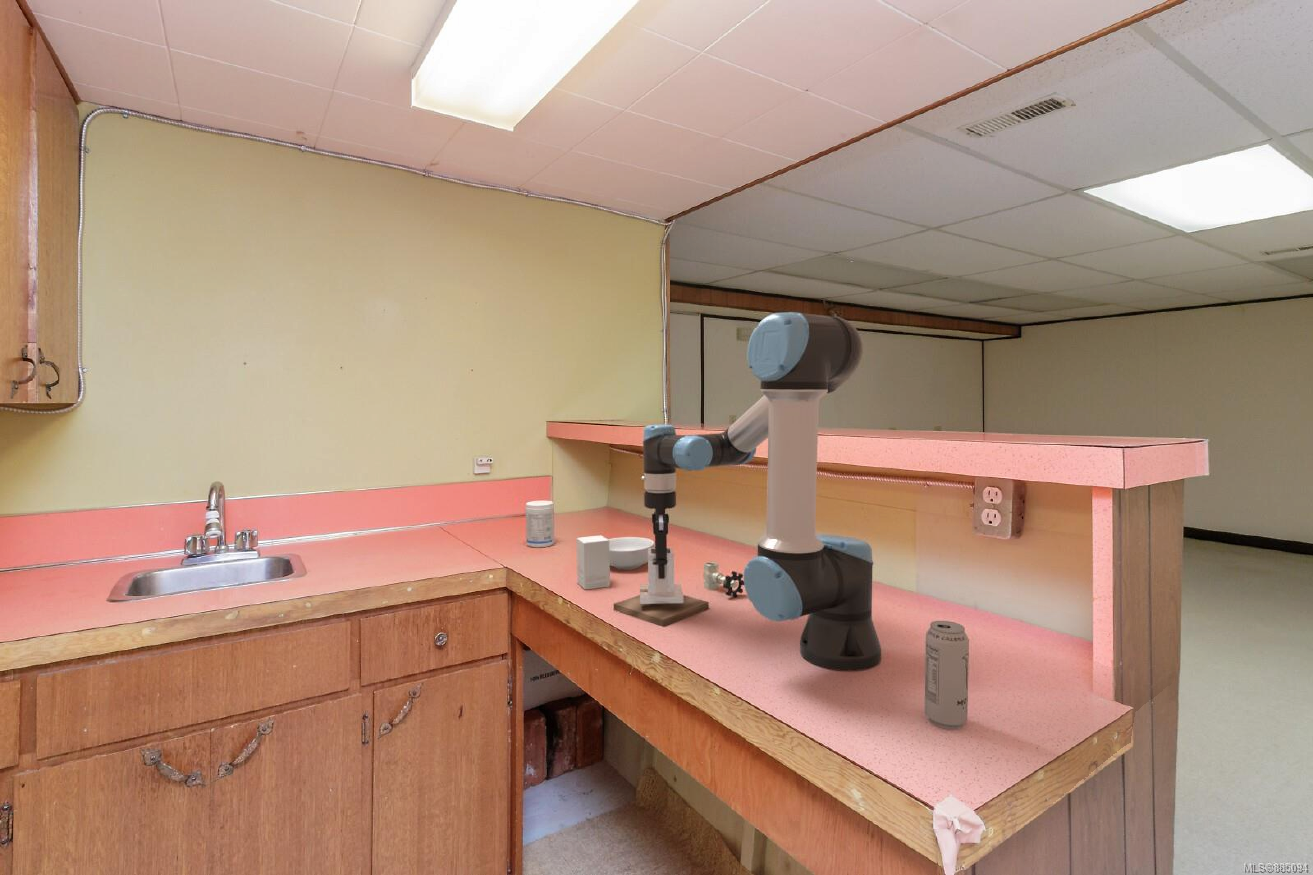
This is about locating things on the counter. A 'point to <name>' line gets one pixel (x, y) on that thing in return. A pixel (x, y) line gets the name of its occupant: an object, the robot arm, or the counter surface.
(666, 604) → the base board
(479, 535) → the counter surface
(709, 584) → the valve
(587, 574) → the supplement box
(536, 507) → the supplement tub
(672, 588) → the white hollow block
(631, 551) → the cereal bowl
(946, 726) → the energy drink can
